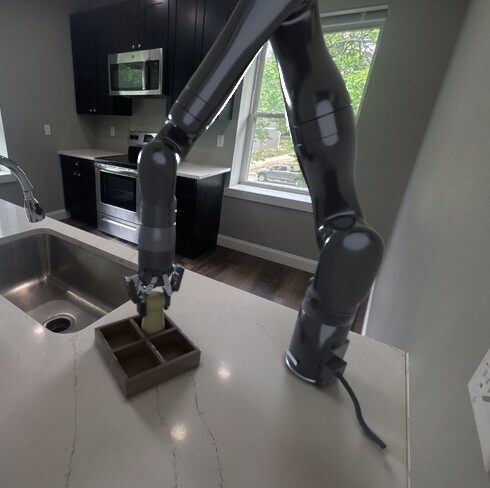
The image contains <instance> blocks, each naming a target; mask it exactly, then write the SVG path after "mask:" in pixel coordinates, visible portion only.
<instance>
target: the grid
mask: <svg viewBox="0 0 490 488" xmlns="http://www.w3.org/2000/svg"><path fill="white" fill-rule="evenodd" d="M163 314H164V324H165V331H163V332H160V333H157V334H154V335H152V336H149V337H146V336H145V335H144V333H143V332H142V331H141V325H142V319H143V317H142V316H140V315H139V313H138V314H135V315H132V316H128V317H125V318H121V319H119V320H116V321H113V322H110V323H109V322H108V323H107V324H103V325H100V326H97V327H94V343H95V345H96V347H97V349H98V351H99V352H100V354H101V356H102V358H103V360H104V361H105V363H106V365H107V367H108V369H109V370H110V373H111V374H112V376H113V378H114V380H115V382H116V384H117V385H118V387H119V389H120V390H121V392H122V394H123V396H124V399H125V400H129V399H130V398H133V397H135V396H137V395H139V394H142V393H143V392H145V391H147V390H149V389H152V388H154V387H157V386H159V385H161V384H163V383H165V382H167V381H170V380H171V379H174V378H175V377H178V376H180V375H182V374H184V373H186V372H189V371H191V370H193V369H195V368H198V367H200V363H201V354H202V350H201V348H199V346H198V345H196V344H195V343H194V342H193V341H192V339H191V338H190V337H189V336H188V335H187V334H186V333H185V332H184V331H183V330H182V329H181V327H179V325H178V324H176V323H175V322H174V321H173V320H172V318H171V317H170V316H169V315H168V314H167V313H166V312H165V310H163Z"/></svg>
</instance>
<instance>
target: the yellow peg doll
mask: <svg viewBox="0 0 490 488" xmlns="http://www.w3.org/2000/svg"><path fill="white" fill-rule="evenodd" d="M162 292H163V291H159V290H152V292H151V294H150V295H148V298H147V300H146V317H143V319H142V325H141V331H142V332H143V333H144V335H145V336H146V337H149V336H152V335H154V334H157V333H160V332H163V331H165V324H164V314H163V311H164V309H163V308H164V306H165V303H166V299H165V296H164V294H163V293H162Z"/></svg>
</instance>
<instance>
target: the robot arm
mask: <svg viewBox="0 0 490 488" xmlns="http://www.w3.org/2000/svg"><path fill="white" fill-rule="evenodd" d="M268 41H269V44H270V47H271V49H272V52H273V56H274V58H275V63H276V66H277V67H276V68H277V71H278V72H277V73H278V78H279V85H280V92H281V97H282V102H283V107H284V112H285V118H286V123H287V127H288V131H289V135H290V139H291V143H292V147H293V151H294V155H295V157H296V161H297V164H298V166H299V170H300V172H301V175H302V177H303V180H304V183H305V185H306V188H307V191H308V193H309V197H310V201H311V207H312V213H313V214H312V215H313V221H314V222H313V223H314V232H315V233H314V234H315V243H316V247H317V249H318V252H319V254H320V255H319V258H318V262H317V265H316V269H315V271H314V273H313V276H312V277H310V278H309V279H308V281H307V282H306V285H305V289H304V292H303V296H302V298H301V299H302V300H301V303H300V306H299V310H298V314H297V317H296V321H295V325H294V328H293V331H292V335H291V338H290V343H289V347H288V348H286V351H285V352H286V355H285V358H284V359H285V364H286V366H287V369H288V370H289V371H290V372H291V373H292V374H293V375H295V376H296V377H297V378H299V379H301V380H302V381H304V382H307V383H309V384H313V385H315V386H316V387H317V388H322V387H324V386H325V385H327V384H328V385H330V384H332V383H333V382H335V381H337V380H339V381H340V383H341V384H342V386H343V387H344V389H345V390H346V392H347V393H348V395H349V397H350V399H351V402H352V404H353V405H354V412H355V416H356V420H357V421H358V424H359V425H360V427H361V428H362V430H363V431H364V433H366V435H367V436H368V437H369V439H371V440H372V441H373V442H375V444H377V446H379V448H380V449H381V450H385V449H386V448H387V447H388V445H387V444H386V443H385V442H384V441H383V440H382V439H381V438H380V437H379V436H377V434H375V433H374V432H373V431H372V430H371V428H370V427H369V426H368V425H367V423H366V421H365V420H364V417H363V414H362V409H361V405H360V402H359V399H358V398H357V396H356V394H355V392H354V390H353V389H352V387H351V386H350V384H349V382H348V381H347V380H346V378H345V377H344V373H345V371H346V369H347V366H348V362H347V361H346V360H344V359H345V356H346V353H347V351H348V348H349V345H350V343H351V340H350V339H349V338H348V336H349V333H350V331H351V328H352V325H353V323H354V320H355V318H356V315H357V312H358V310H359V307H360V305H361V303H362V302H363V301H365V300H366V298H367V297H368V296H369V294H370V293H371V290H372V287H373V285H374V284H375V280H376V279H377V275H378V274H379V271H380V269H381V266H382V264H383V261H384V257H385V253H386V246H385V242H384V240H383V238H382V236H381V235H380V234H379V233H378V231H376V229H374V227H372V226H371V225H370V224H369V222H368V221H367V219H366V217H365V214H364V211H363V209H362V205H361V202H360V199H359V194H358V190H357V185H356V184H357V183H356V170H357V160H358V159H357V158H358V130H357V123H356V119H355V114H354V108H353V102H352V98H351V94H350V92H349V88H348V86H347V83H346V81H345V79H344V77H343V75H342V73H341V71H340V69H339V68H338V66H337V64H336V62H335V60H334V58H333V57H332V55H331V53H330V51H329V48H328V46H327V44H326V40H325V36H324V31H323V26H322V19H321V9H320V1H319V0H239V1H238V2H237V4H236V5H235V8H234V9H233V11H232V13H231V15H230V17H229V19H228V20H227V22H226V23H225V25H224V26H223V28H222V30H221V32H220V33H219V35H218V36H217V38H216V39H215V41H214V43H213V44H212V46H211V47H210V49H209V51H208V52H207V54H206V55H205V56H204V58H203V59H202V61H201V62H200V64H199V65H198V67H197V68H196V70H195V71H194V73H193V74H192V75H191V77H190V78H189V80H188V82H187V83H186V84H185V86H184V87H183V89H182V91H181V92H180V94H179V95H178V96H177V98H176V100H175V101H174V103H173V104H172V106H171V108H170V110H169V112H168V115H167V118H166V120H165V122H164V123H163V125H162V126H161V127H160V129H159V131H158V132H157V134H156V135H155V136H154V137H153V139H152V140H151V141H149V142H147V143H145V144H144V145H143V147H142V148H141V149H140V151H139V153H138V157H137V181H138V182H137V183H138V191H139V195H140V204H139V211H140V212H139V227H138V238H137V245H138V247H137V248H138V249H137V264H138V267H137V270H136V273H135V274H133V275H128V274H127V275H125V276H123V281H124V284H125V289H126V292H127V293H126V294H127V297H128V299H129V300H130V301H131V302H132V303H133V304H134V305H136V312H137V313H138V314H139V315H140V316H142V317H146V300H147V298H148V295H150V294H151V292H152V291H153V290H155V289H156V288H161V289H162V290H161V292H162V293H163V294H164V296H165V299H166V303H165V306H164V308H163V311H167V310H169V309H170V308H169V307H170V306H171V299H172V296H173V293H178V292H179V291H180V288H181V284H182V282H183V281H182V280H183V277H184V274H185V269H186V268H185V267H183V266H182V265H181V264H179V263H175V254H176V250H175V249H176V240H177V237H176V236H177V230H176V219H177V198H176V185H177V175H178V170H179V168H180V166H181V165H182V164H183V162H184V161H185V159H186V158H187V156H188V154H189V153H190V152H191V150H192V148H193V147H194V145H195V144H196V142H197V141H198V140H199V139H200V138H201V137H202V136H203V135H204V134H205V132H206V131H207V130H208V128H209V127H210V126H211V125H212V124H213V122H214V121H215V119H216V118H217V116H218V115H219V114H220V113H221V111H222V110H223V109H224V107H225V106H226V104H227V103H228V101H229V99H230V98H231V97H232V95H233V94H234V92H235V90H236V89H237V88H238V85H239V84H240V82H241V80H242V79H243V77H244V76H245V74H246V72H247V71H248V69H249V68H250V66H251V64H253V61H254V60H255V58H256V57H257V56H258V54H259V53H260V51H261V50H262V49H263V48H264V47H265V44H266V43H267V42H268ZM174 263H175V264H174ZM169 278H170V279H169ZM138 281H140V282H139V284H138ZM136 287H137V288H138V290H137V288H136Z"/></svg>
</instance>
